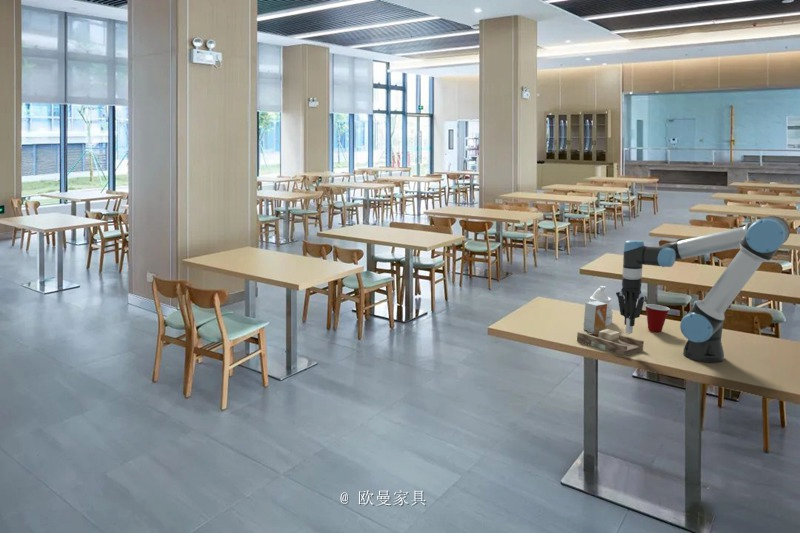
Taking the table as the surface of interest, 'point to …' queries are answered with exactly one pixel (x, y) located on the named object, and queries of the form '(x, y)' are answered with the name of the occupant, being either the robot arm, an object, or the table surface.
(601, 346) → the wooden tray
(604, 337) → the block
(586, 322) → the small box
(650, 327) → the plastic cup
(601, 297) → the white piece
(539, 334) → the table surface
